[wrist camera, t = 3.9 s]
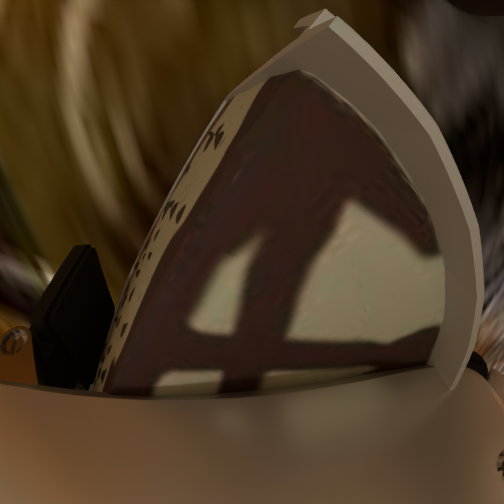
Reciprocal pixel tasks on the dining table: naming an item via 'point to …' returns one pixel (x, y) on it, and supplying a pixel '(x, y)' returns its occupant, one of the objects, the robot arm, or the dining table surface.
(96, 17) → the dining table surface
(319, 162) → the food container
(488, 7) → the bottle
